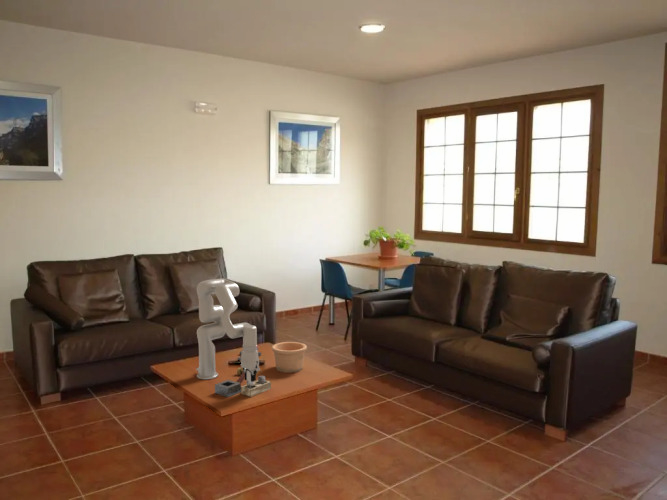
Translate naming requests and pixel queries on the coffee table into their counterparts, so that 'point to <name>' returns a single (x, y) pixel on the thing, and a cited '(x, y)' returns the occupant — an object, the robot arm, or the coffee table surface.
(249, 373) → the silver metal cylinder
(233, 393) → the socket
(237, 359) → the race car
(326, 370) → the coffee table surface
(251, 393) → the rack
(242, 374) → the gavel
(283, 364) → the pottery
